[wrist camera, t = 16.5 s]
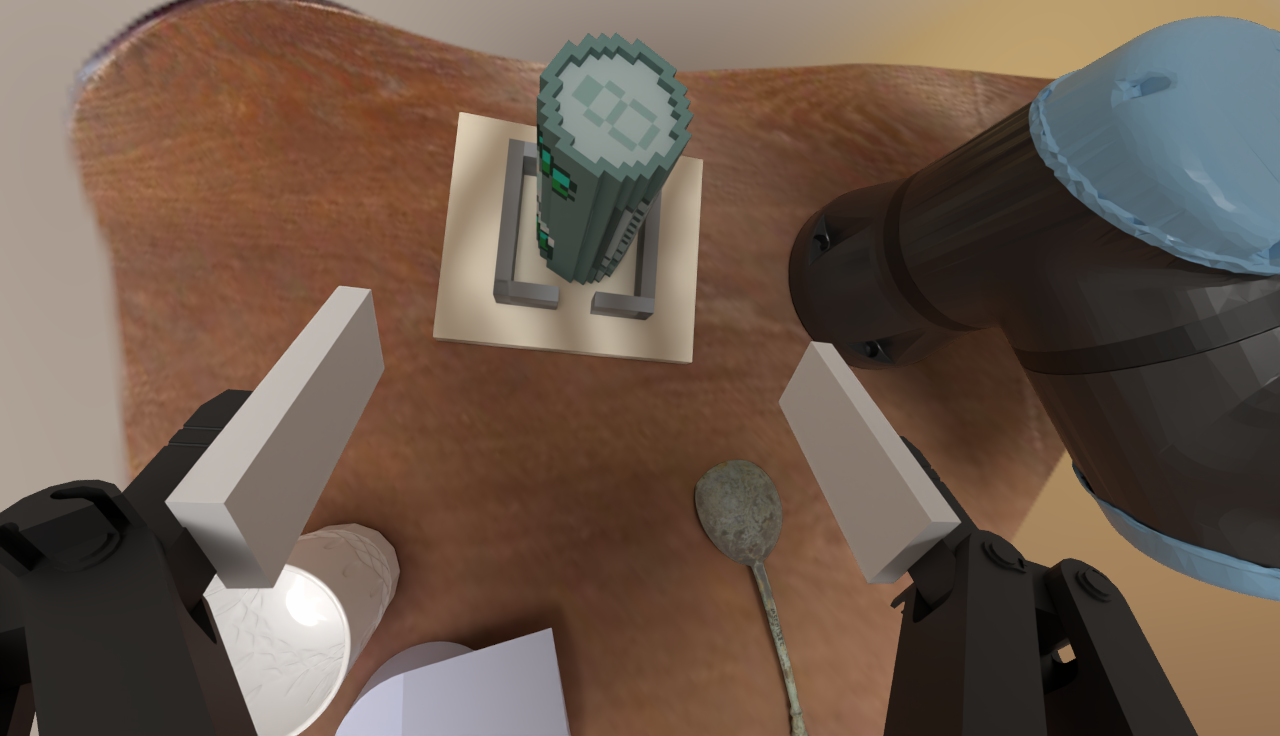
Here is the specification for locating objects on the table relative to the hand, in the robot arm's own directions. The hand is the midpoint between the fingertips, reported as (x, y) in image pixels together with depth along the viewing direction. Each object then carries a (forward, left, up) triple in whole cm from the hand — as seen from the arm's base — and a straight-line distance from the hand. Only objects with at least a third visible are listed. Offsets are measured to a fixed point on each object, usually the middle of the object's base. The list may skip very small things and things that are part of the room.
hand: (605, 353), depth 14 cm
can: (-5, -9, -18) cm, 21 cm away
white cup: (+18, +5, -20) cm, 27 cm away
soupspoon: (-6, +21, -20) cm, 30 cm away
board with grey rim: (-5, -9, -20) cm, 22 cm away
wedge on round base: (+15, +16, -20) cm, 29 cm away
